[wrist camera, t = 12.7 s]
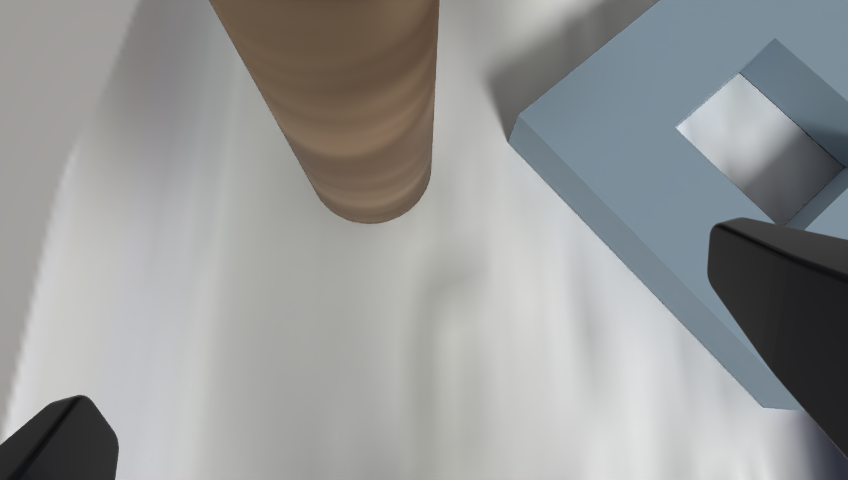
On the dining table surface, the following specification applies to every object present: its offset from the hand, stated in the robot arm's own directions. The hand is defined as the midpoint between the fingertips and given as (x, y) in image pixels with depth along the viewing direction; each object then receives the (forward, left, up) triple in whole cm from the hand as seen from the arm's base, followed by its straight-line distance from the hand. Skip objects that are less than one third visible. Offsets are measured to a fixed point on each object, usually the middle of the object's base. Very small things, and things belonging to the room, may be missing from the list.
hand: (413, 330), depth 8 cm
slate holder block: (+16, -3, -14) cm, 21 cm away
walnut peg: (+4, +7, -14) cm, 16 cm away
